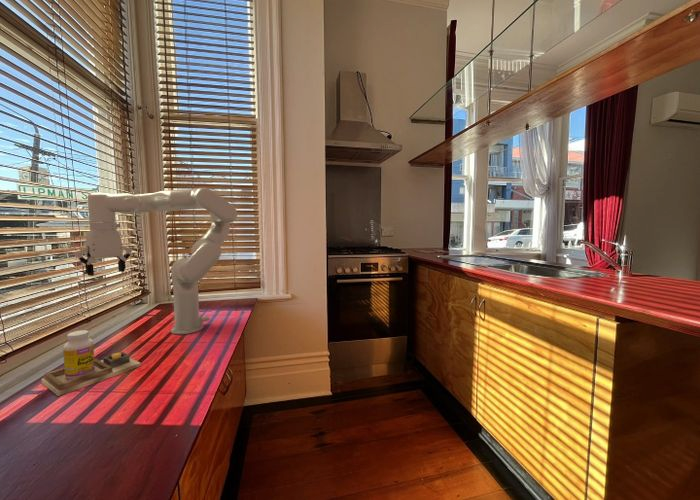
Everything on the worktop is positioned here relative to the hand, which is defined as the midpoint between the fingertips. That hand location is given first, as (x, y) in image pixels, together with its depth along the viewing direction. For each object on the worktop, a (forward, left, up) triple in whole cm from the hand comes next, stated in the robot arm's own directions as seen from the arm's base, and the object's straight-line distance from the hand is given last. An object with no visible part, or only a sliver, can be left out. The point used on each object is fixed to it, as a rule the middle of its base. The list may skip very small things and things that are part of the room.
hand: (106, 273), depth 111 cm
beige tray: (+13, +21, -28) cm, 37 cm away
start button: (+7, +21, -26) cm, 34 cm away
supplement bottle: (+16, +21, -27) cm, 38 cm away
